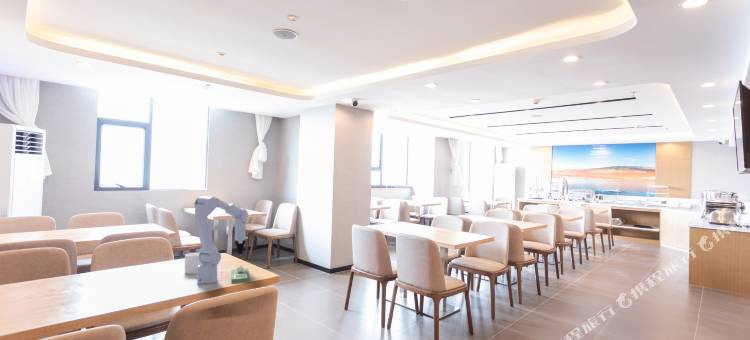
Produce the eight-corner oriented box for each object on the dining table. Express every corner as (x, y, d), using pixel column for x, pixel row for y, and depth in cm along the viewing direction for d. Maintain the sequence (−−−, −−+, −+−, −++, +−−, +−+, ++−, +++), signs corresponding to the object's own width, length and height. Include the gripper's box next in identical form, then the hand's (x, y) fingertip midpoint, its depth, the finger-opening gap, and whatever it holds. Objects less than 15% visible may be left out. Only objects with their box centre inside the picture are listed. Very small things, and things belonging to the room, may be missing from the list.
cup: (187, 275, 202) (187, 256, 202) (181, 270, 211) (181, 252, 211) (203, 272, 208) (203, 254, 208) (196, 268, 217) (196, 250, 217)
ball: (236, 273, 201) (236, 266, 201) (236, 271, 204) (236, 265, 204) (243, 272, 202) (243, 266, 202) (243, 271, 206) (243, 264, 206)
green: (231, 283, 190) (231, 279, 190) (231, 273, 207) (231, 269, 207) (249, 281, 194) (249, 277, 194) (248, 272, 211) (248, 268, 211)
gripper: (248, 231, 207) (247, 256, 207) (247, 227, 220) (246, 250, 220) (234, 232, 204) (234, 257, 204) (234, 228, 218) (234, 251, 218)
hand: (239, 253), depth 212 cm, fingers closed
